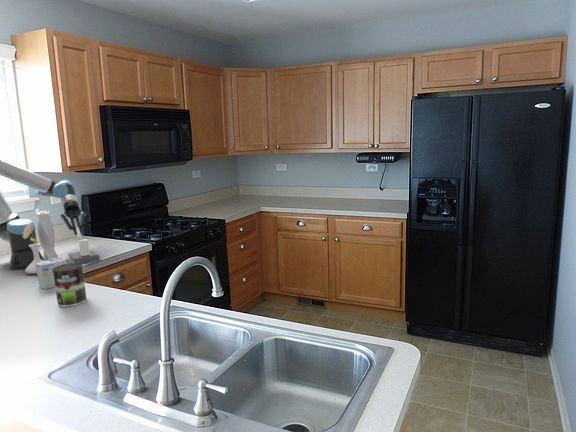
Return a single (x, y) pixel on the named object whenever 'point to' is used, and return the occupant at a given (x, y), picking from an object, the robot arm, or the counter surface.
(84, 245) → the white cylinder
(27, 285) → the counter surface
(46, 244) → the skyscraper
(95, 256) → the switch box
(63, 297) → the coffee can
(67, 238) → the counter surface
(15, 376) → the counter surface
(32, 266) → the flower in vase
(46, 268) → the light bulb box
